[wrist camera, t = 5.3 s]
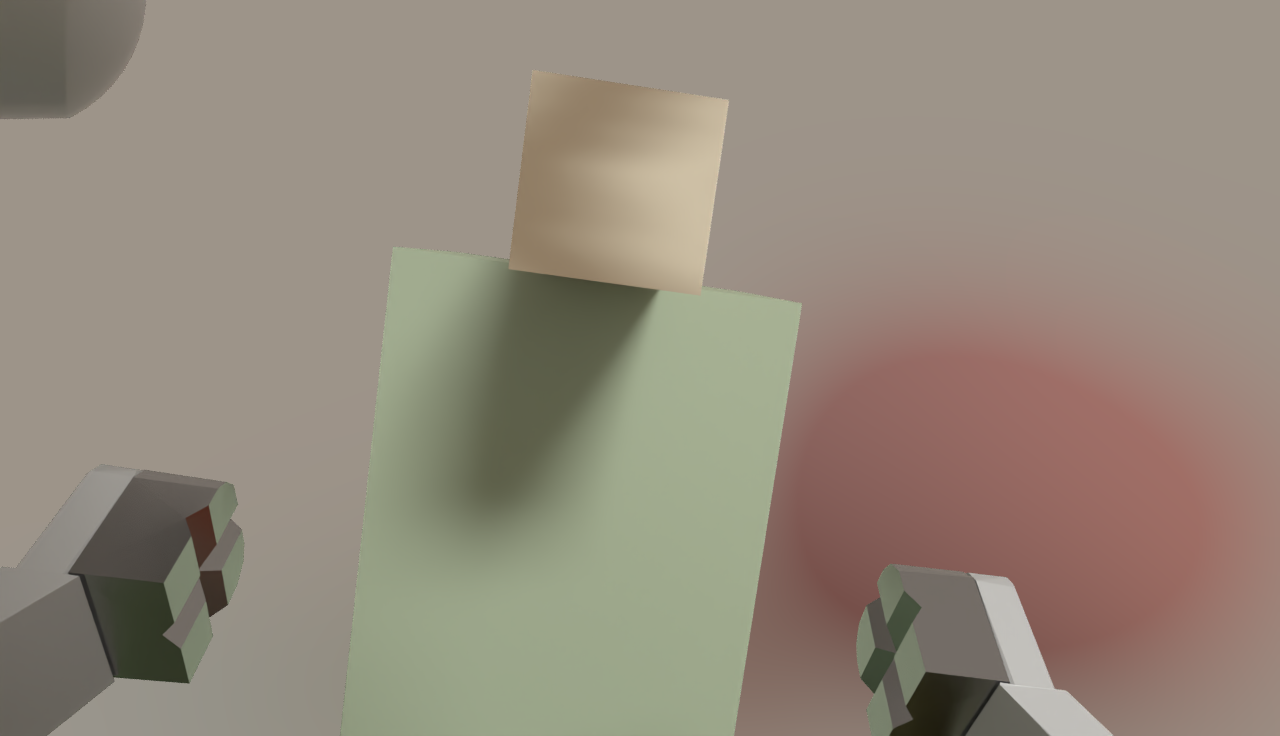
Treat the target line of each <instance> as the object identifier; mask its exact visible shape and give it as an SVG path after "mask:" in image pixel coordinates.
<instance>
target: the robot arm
mask: <svg viewBox="0 0 1280 736" xmlns="http://www.w3.org/2000/svg"><path fill="white" fill-rule="evenodd" d="M145 6H146V0H0V119H34V118H35V119H38V118H70V117H72V116H74V115H76V114H78V113H79V112H81V111H83V110H84V109H86V108H87V107H89V106H90V105H91V104H92V103H94V102H95V101H96V100H97V99H99V98H100V97H101V96H102V95H103V94H104V93H105V92H106V91H107V90H108V89H109V88H110V87H111V86H112V85H113V84H114V83H115V81H116V80H117V79H118V77H119V76H120V75H121V74H122V72H123V71H124V69H125V68H126V66H127V64H128V62H129V60H130V59H131V57H132V55H133V53H134V50H135V48H136V45H137V43H138V40H139V37H140V33H141V30H142V26H143V21H144V14H145ZM237 505H238V503H237V498H236V494H235V489H234V485H233V484H230V483H227V482H222V481H216V480H209V479H202V478H196V477H188V476H182V475H175V474H169V473H161V472H155V471H149V470H138V469H131V468H124V467H117V466H110V465H103V464H101V465H99V466H98V467H96V468H94V469H93V470H91V471H90V472H88V473H87V475H86V476H85V477H84V479H83V480H82V481H81V482H80V484H79V485H78V486H77V488H76V489H75V490H74V492H73V493H72V494H71V496H70V497H69V498H68V500H67V501H66V502H65V504H64V505H63V506H62V508H61V509H60V510H59V512H58V513H57V514H56V515H55V517H54V518H53V519H52V521H51V522H50V523H49V525H48V526H47V527H46V529H45V530H44V531H43V533H42V534H41V535H40V537H39V538H38V539H37V541H36V542H35V543H34V545H33V546H32V547H31V549H30V550H29V551H28V553H27V554H26V555H25V557H24V558H23V559H22V561H21V562H20V563H19V565H18V566H17V567H16V568H10V567H1V568H0V736H47V735H48V734H50V733H51V732H52V731H53V730H55V729H56V728H57V727H58V726H59V725H61V724H62V723H63V722H65V721H66V720H67V719H68V718H70V717H71V716H72V715H73V714H74V713H76V712H77V711H78V710H80V709H81V708H82V707H83V706H85V705H86V704H87V703H88V702H90V701H91V700H92V699H93V698H95V697H96V696H97V695H98V694H100V693H101V692H102V691H103V690H105V689H106V688H107V687H108V686H110V685H111V684H112V683H113V682H114V678H113V677H117V678H129V679H141V680H153V681H166V682H178V683H190V681H191V679H192V677H193V675H194V673H195V671H196V669H197V667H198V665H199V663H200V661H201V659H202V657H203V655H204V653H205V651H206V649H207V647H208V645H209V643H210V641H211V639H212V637H213V634H212V629H211V624H210V619H209V617H211V616H212V615H214V614H215V613H217V612H218V611H220V610H221V609H223V608H224V607H226V606H227V605H228V604H229V602H230V600H231V597H232V595H233V593H234V591H235V589H236V587H237V584H238V580H239V576H240V572H241V568H242V564H243V558H244V540H243V533H242V529H241V528H240V527H239V526H238V525H236V524H235V523H234V522H233V521H232V520H231V519H230V518H231V516H232V514H233V512H234V511H235V509H236V507H237ZM877 584H878V588H879V593H880V598H878V599H877V600H875V601H873V602H872V603H870V604H868V605H867V606H866V608H865V611H864V613H863V615H862V618H861V620H860V623H859V629H858V637H857V662H858V667H859V673H860V678H861V679H862V680H863V681H864V683H865V684H866V685H867V686H868V687H869V688H870V689H871V691H872V692H873V693H874V696H873V698H872V700H871V702H870V704H869V706H868V708H867V715H868V720H869V724H870V730H871V735H872V736H1113V735H1112V734H1111V733H1110V732H1109V731H1108V730H1107V729H1106V728H1105V727H1104V726H1103V725H1102V724H1101V723H1100V722H1099V721H1098V720H1096V719H1095V718H1094V717H1093V716H1092V715H1091V714H1090V713H1089V712H1088V711H1087V710H1086V709H1085V708H1084V707H1083V706H1082V705H1081V704H1080V703H1079V702H1078V701H1077V700H1075V699H1074V698H1073V697H1072V696H1071V695H1070V694H1069V693H1068V692H1067V691H1065V690H1058V689H1055V688H1054V686H1053V683H1052V681H1051V678H1050V676H1049V673H1048V671H1047V668H1046V666H1045V663H1044V661H1043V658H1042V656H1041V653H1040V650H1039V648H1038V646H1037V643H1036V641H1035V638H1034V635H1033V633H1032V631H1031V628H1030V625H1029V623H1028V620H1027V618H1026V615H1025V613H1024V611H1023V608H1022V605H1021V603H1020V600H1019V597H1018V595H1017V592H1016V590H1015V587H1014V585H1013V584H1012V582H1010V580H1009V579H1007V578H1006V577H999V576H991V575H981V574H974V573H964V572H959V571H950V570H941V569H932V568H923V567H915V566H906V565H897V564H890V565H889V566H887V567H886V568H885V569H884V570H883V572H882V574H881V576H880V578H879V580H878V582H877Z"/></svg>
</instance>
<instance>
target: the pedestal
mask: <svg viewBox="0 0 1280 736" xmlns="http://www.w3.org/2000/svg"><path fill="white" fill-rule="evenodd" d="M509 260H510V259H503V258H496V257H489V256H482V255H475V254H467V253H460V252H451V251H439V250H427V249H415V248H403V247H393V252H392V261H391V270H390V280H389V289H388V299H387V309H386V317H385V326H384V335H383V344H382V354H381V363H380V373H379V382H378V390H377V400H376V409H375V418H374V427H373V437H372V446H371V455H370V466H369V474H368V483H367V492H366V501H365V511H364V520H363V529H362V538H361V547H360V557H359V566H358V575H357V585H356V594H355V603H354V613H353V623H352V631H351V640H350V649H349V658H348V668H347V677H346V687H345V696H344V705H343V714H342V723H341V732H340V736H734V731H735V725H736V719H737V712H738V706H739V700H740V693H741V687H742V680H743V674H744V668H745V662H746V655H747V649H748V643H749V636H750V630H751V624H752V617H753V611H754V605H755V598H756V592H757V586H758V579H759V572H760V566H761V560H762V554H763V547H764V541H765V534H766V528H767V522H768V516H769V510H770V503H771V497H772V491H773V484H774V478H775V472H776V465H777V458H778V453H779V446H780V440H781V434H782V427H783V421H784V415H785V408H786V402H787V395H788V388H789V382H790V377H791V370H792V364H793V357H794V351H795V345H796V339H797V331H798V326H799V320H800V313H801V307H802V304H801V303H797V302H792V301H787V300H781V299H776V298H771V297H766V296H761V295H756V294H750V293H745V292H740V291H733V290H726V289H719V288H712V287H705V286H702V289H701V296H699V295H692V294H685V293H678V292H671V291H663V290H656V289H649V288H642V287H634V286H627V285H620V284H613V283H605V282H598V281H591V280H584V279H576V278H569V277H562V276H555V275H548V274H540V273H533V272H526V271H519V270H511V269H508V268H509Z"/></svg>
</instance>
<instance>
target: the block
mask: <svg viewBox="0 0 1280 736" xmlns="http://www.w3.org/2000/svg"><path fill="white" fill-rule="evenodd" d="M728 104H729V100H725V99H718V98H712V97H706V96H699V95H693V94H686V93H680V92H673V91H666V90H660V89H654V88H647V87H641V86H634V85H627V84H621V83H614V82H608V81H601V80H595V79H588V78H582V77H575V76H569V75H562V74H556V73H549V72H542V71H536V70H533V72H532V80H531V89H530V96H529V105H528V113H527V121H526V129H525V137H524V145H523V153H522V162H521V170H520V178H519V187H518V194H517V203H516V211H515V219H514V227H513V235H512V243H511V252H510V260H509V268H508V269H511V270H519V271H526V272H533V273H540V274H548V275H555V276H562V277H569V278H576V279H584V280H591V281H598V282H605V283H613V284H620V285H627V286H634V287H642V288H649V289H656V290H663V291H671V292H678V293H685V294H692V295H699V296H701V289H702V282H703V276H704V269H705V262H706V255H707V248H708V241H709V234H710V227H711V220H712V213H713V206H714V200H715V193H716V186H717V179H718V173H719V165H720V159H721V151H722V145H723V138H724V131H725V124H726V117H727V110H728Z"/></svg>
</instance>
